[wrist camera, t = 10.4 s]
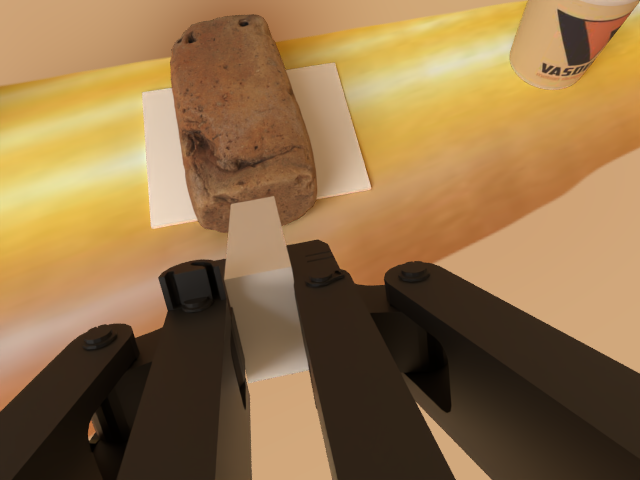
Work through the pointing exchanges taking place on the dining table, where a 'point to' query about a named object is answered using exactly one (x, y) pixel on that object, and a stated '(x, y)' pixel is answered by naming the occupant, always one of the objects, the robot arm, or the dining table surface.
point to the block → (239, 122)
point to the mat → (322, 126)
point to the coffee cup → (564, 38)
